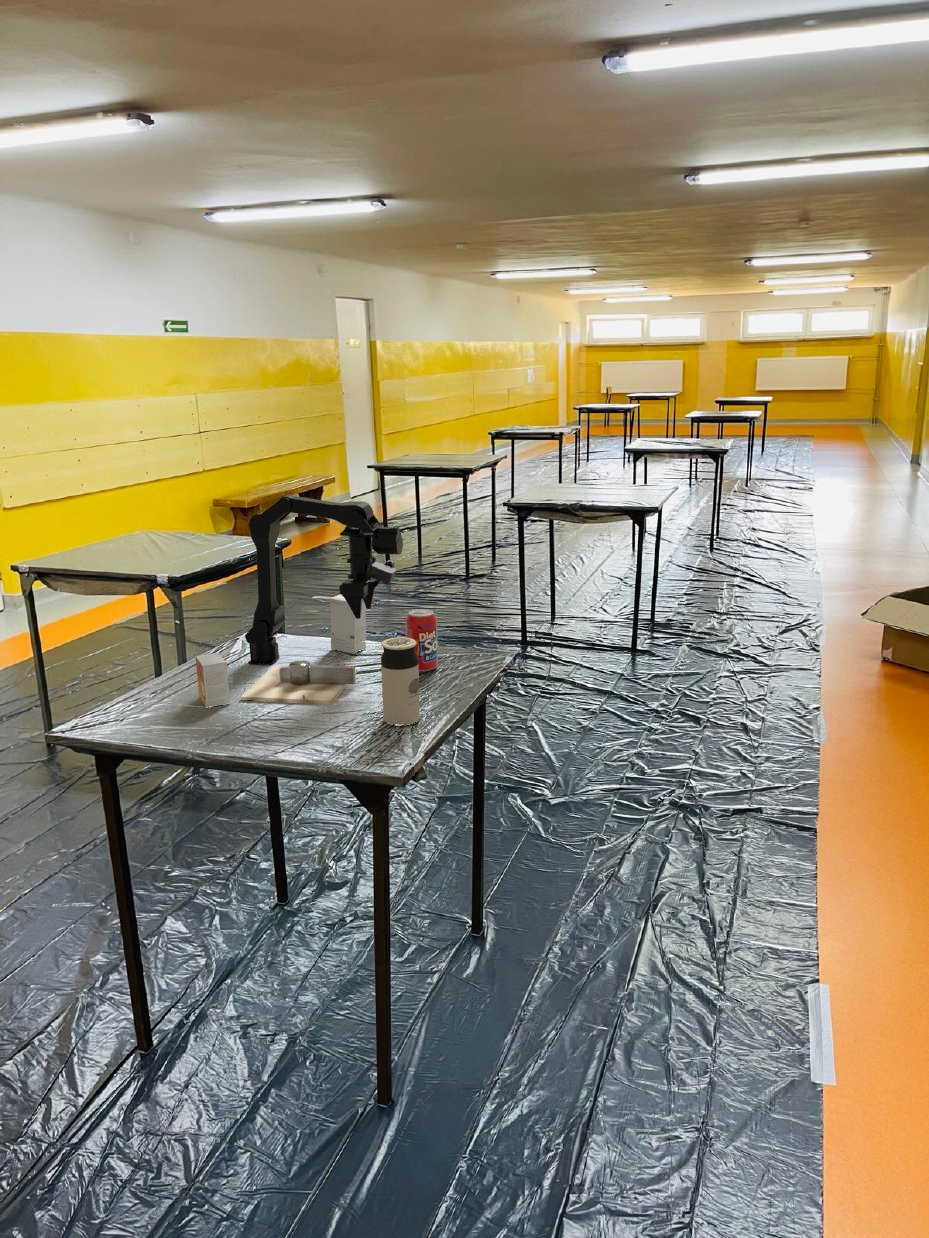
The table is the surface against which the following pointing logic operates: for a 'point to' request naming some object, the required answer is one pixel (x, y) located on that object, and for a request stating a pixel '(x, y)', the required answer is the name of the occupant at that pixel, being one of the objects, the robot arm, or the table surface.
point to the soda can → (423, 637)
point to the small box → (212, 679)
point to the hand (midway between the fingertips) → (363, 613)
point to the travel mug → (400, 681)
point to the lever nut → (317, 673)
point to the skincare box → (347, 626)
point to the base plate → (292, 690)
